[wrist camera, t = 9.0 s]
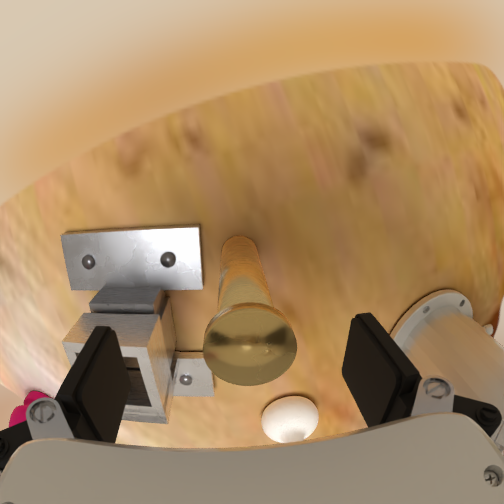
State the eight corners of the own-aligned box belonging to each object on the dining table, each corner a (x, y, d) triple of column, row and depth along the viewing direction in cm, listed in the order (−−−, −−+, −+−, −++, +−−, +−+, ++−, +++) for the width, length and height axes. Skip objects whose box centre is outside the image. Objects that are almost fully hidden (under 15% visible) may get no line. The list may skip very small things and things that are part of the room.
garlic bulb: (280, 383, 29) (286, 439, 21) (327, 400, 30) (341, 453, 22) (251, 417, 31) (250, 471, 23) (296, 431, 31) (302, 482, 24)
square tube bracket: (203, 288, 24) (194, 348, 16) (214, 389, 28) (212, 453, 20) (76, 289, 23) (31, 337, 16) (106, 384, 27) (82, 439, 19)
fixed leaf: (199, 224, 23) (193, 238, 19) (209, 347, 26) (207, 375, 22) (65, 232, 22) (42, 245, 18) (92, 343, 26) (77, 368, 22)
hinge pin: (263, 228, 23) (299, 309, 11) (263, 274, 24) (293, 382, 12) (214, 230, 23) (198, 313, 11) (216, 275, 24) (207, 387, 12)
